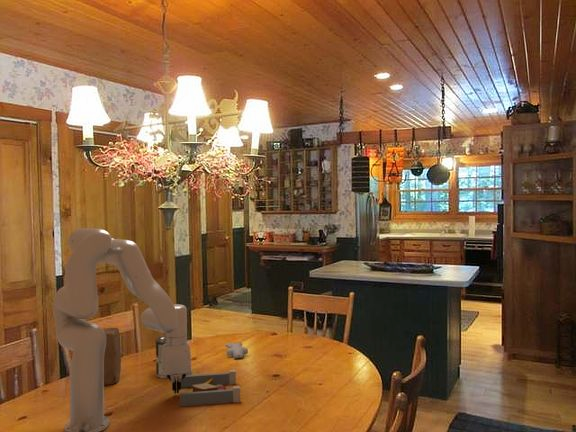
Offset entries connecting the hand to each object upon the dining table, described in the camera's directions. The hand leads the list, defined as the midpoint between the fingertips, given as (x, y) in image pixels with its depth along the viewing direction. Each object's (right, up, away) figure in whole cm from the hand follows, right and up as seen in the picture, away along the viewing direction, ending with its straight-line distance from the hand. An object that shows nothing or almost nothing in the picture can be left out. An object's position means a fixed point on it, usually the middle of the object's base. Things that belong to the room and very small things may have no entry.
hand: (176, 392), depth 175 cm
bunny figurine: (+16, -1, +49) cm, 52 cm away
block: (-29, -2, +16) cm, 33 cm away
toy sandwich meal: (+11, -2, +1) cm, 12 cm away
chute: (+11, -1, +2) cm, 11 cm away
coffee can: (-8, -1, +24) cm, 25 cm away
